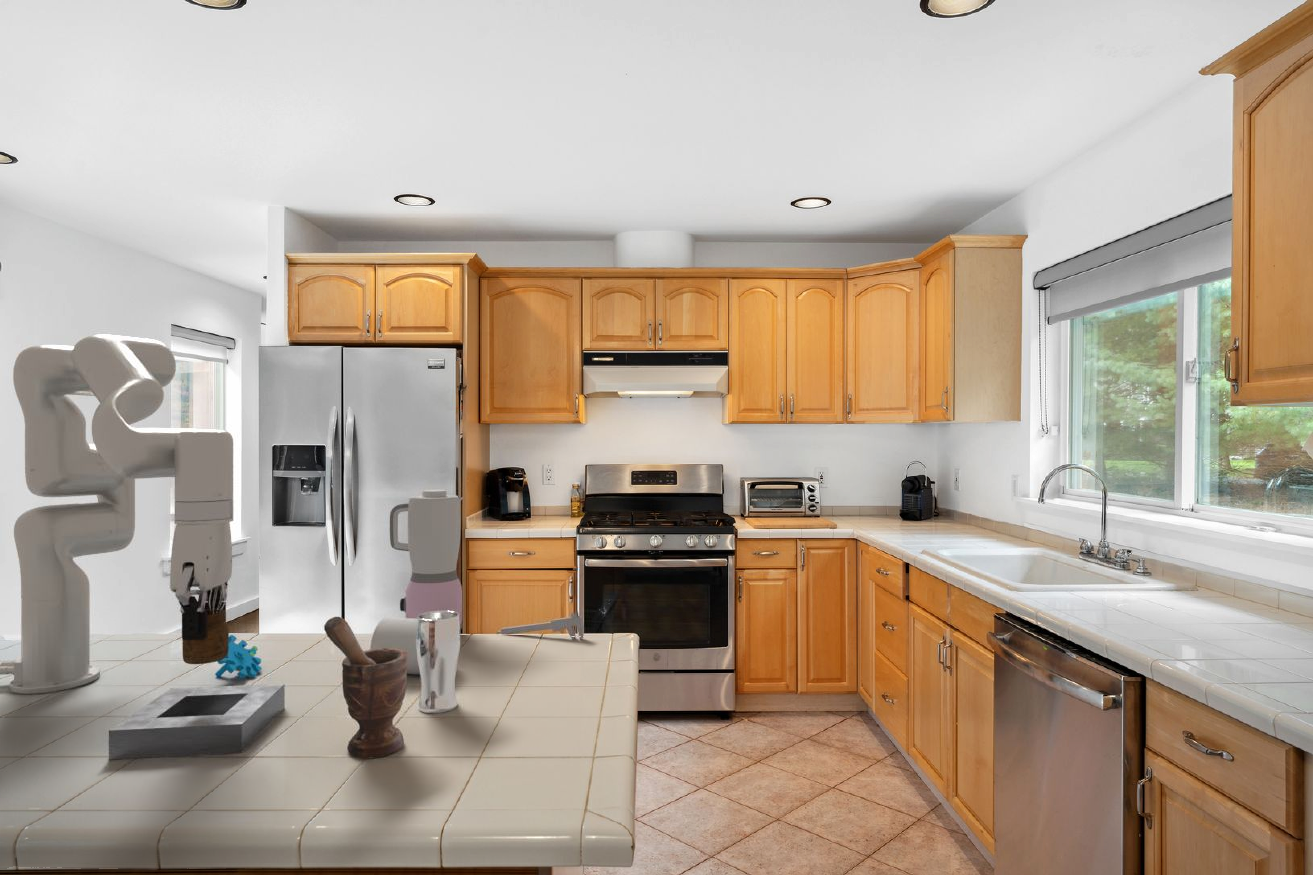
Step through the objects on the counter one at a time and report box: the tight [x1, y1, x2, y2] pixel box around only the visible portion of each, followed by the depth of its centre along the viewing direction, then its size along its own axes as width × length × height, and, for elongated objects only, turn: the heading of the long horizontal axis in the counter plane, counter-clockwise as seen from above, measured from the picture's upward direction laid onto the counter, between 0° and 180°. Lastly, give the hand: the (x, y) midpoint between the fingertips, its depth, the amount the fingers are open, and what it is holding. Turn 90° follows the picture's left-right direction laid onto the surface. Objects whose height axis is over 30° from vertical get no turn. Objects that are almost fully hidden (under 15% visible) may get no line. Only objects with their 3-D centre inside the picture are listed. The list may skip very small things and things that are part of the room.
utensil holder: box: [181, 585, 230, 665], centre depth 111 cm, size 6×6×12 cm
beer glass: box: [416, 611, 461, 714], centre depth 122 cm, size 7×7×15 cm
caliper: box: [495, 611, 585, 641], centre depth 165 cm, size 20×1×6 cm, turn 76°
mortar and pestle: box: [323, 616, 408, 759], centre depth 104 cm, size 12×9×20 cm
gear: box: [214, 634, 263, 679], centre depth 138 cm, size 11×6×10 cm
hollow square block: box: [108, 683, 286, 761], centre depth 111 cm, size 17×17×4 cm
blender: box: [389, 489, 464, 630], centre depth 166 cm, size 16×12×32 cm
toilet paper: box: [369, 617, 420, 676], centre depth 140 cm, size 10×10×10 cm
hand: (204, 632), depth 111 cm, fingers closed on utensil holder, 5 cm apart
